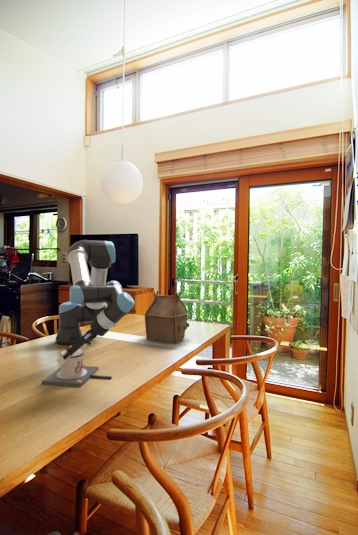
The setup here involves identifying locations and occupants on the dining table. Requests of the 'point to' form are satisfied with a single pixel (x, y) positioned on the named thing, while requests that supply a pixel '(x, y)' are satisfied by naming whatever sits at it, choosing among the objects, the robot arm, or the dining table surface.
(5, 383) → the dining table surface
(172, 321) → the hut
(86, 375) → the warming pad
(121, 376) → the dining table surface
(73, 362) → the teacup with lid
